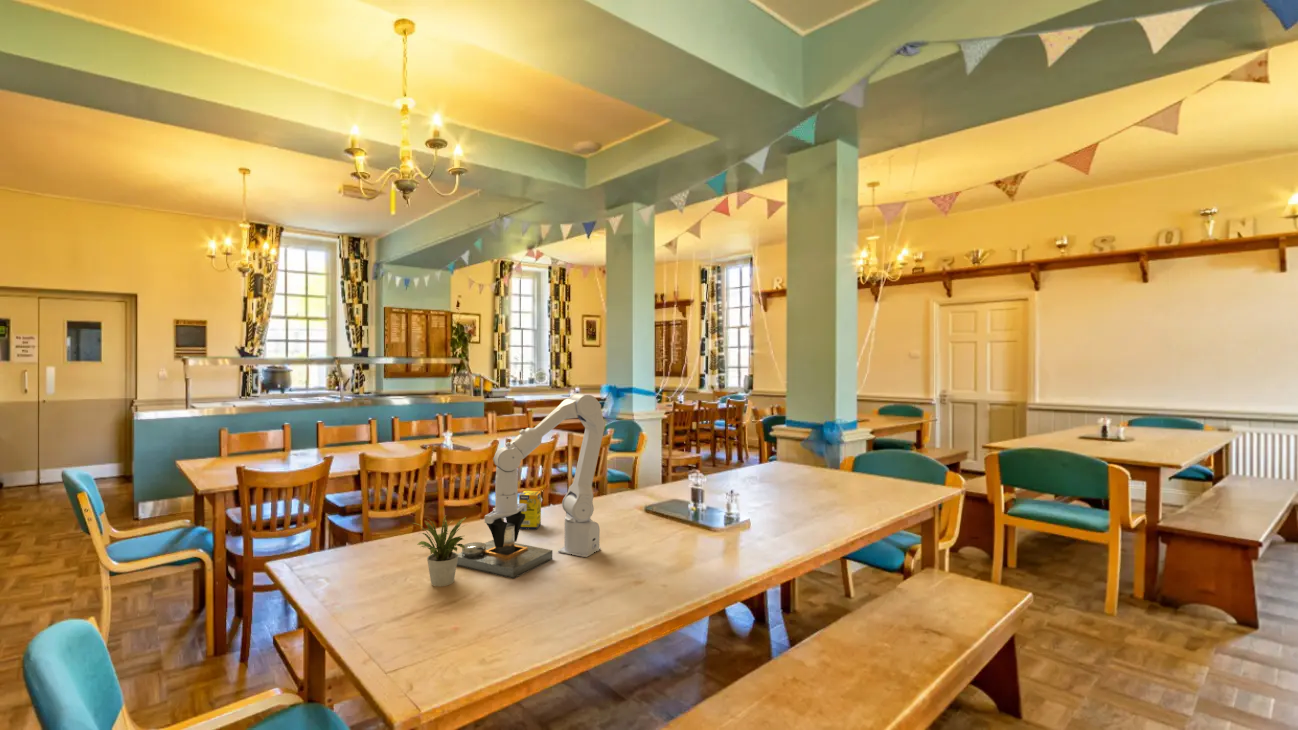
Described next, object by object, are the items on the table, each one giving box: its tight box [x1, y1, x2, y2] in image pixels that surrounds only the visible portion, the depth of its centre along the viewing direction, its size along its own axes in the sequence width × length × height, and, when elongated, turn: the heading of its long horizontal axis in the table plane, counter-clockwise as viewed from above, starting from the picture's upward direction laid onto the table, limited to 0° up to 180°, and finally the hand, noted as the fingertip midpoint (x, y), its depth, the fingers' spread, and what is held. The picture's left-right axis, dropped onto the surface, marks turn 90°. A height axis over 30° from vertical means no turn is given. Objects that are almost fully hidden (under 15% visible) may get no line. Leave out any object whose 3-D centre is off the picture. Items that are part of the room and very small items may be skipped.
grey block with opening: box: [456, 539, 553, 580], centre depth 155 cm, size 20×16×4 cm
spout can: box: [495, 518, 516, 555], centre depth 156 cm, size 5×5×9 cm
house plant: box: [413, 514, 468, 587], centre depth 140 cm, size 14×14×16 cm
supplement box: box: [518, 490, 542, 530], centre depth 188 cm, size 6×6×11 cm
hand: (506, 543), depth 156 cm, fingers closed on spout can, 5 cm apart
